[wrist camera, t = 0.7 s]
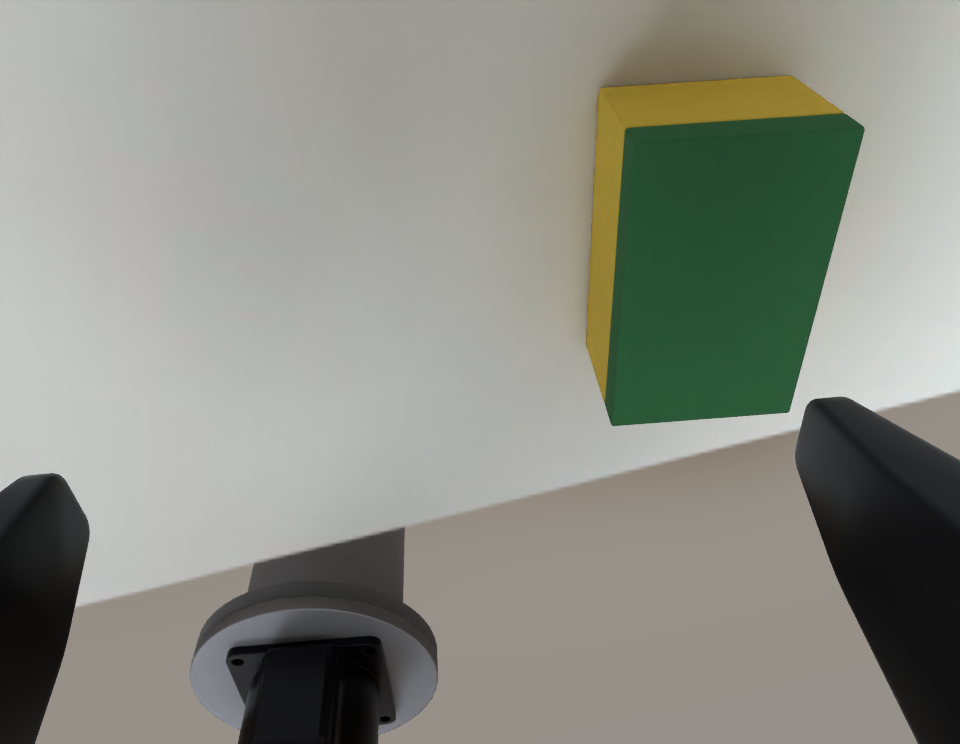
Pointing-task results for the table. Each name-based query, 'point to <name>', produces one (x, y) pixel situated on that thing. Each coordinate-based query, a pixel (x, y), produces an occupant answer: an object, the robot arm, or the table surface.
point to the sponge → (711, 243)
